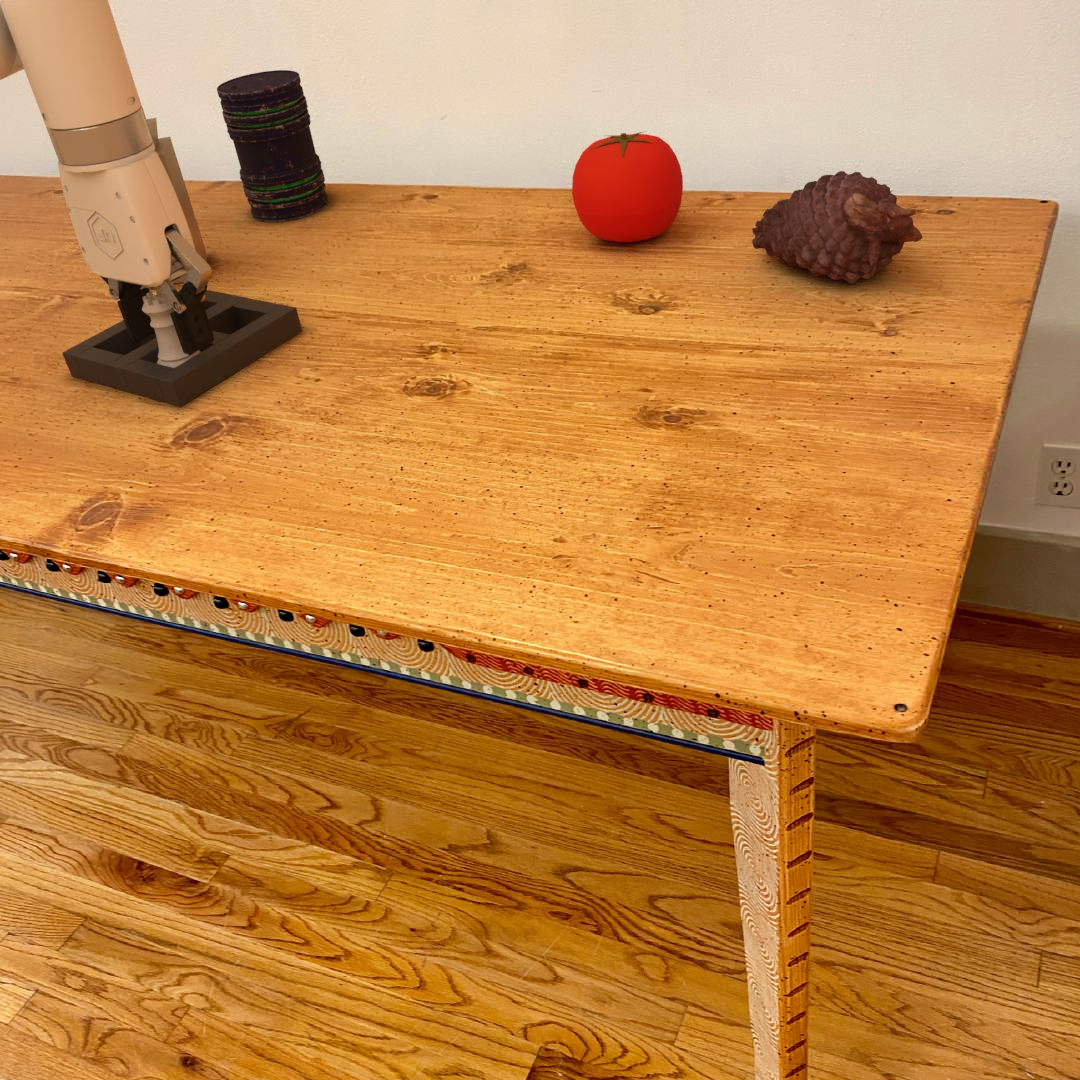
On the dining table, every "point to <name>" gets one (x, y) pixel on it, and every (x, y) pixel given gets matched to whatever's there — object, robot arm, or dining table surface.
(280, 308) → the holder
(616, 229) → the tomato
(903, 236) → the pine cone
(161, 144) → the perfume bottle
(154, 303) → the rook chess piece
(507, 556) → the dining table surface
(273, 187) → the dark purple cylinder
